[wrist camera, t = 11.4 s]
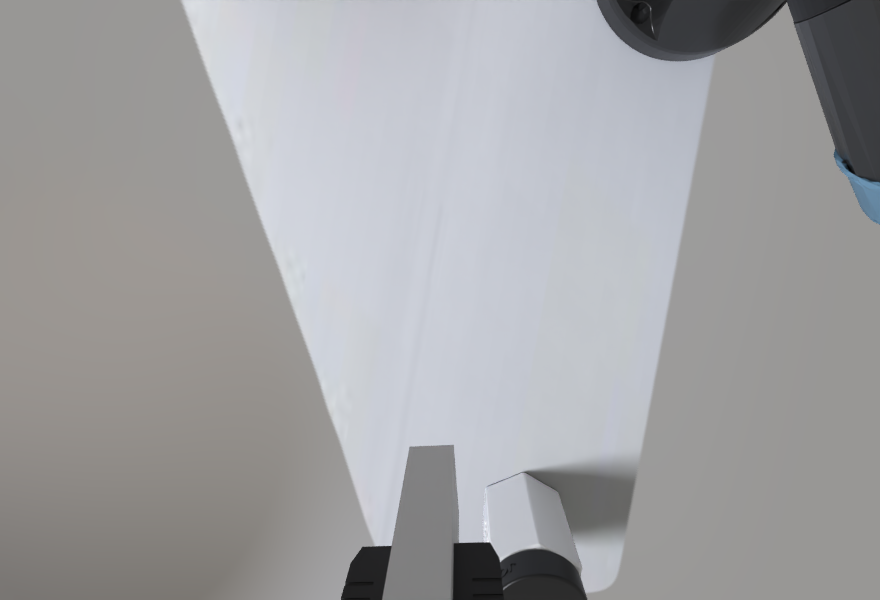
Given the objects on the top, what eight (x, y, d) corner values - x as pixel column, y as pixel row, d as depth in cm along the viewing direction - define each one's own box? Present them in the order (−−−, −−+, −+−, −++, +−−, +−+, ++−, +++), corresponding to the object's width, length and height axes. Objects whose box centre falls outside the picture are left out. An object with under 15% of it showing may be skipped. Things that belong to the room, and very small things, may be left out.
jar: (484, 468, 45) (493, 567, 34) (561, 473, 45) (597, 574, 34) (479, 536, 48) (485, 650, 36) (552, 541, 48) (582, 657, 36)
